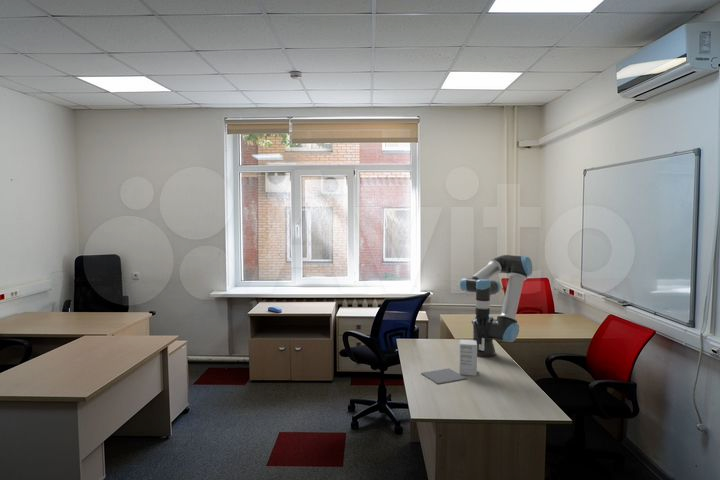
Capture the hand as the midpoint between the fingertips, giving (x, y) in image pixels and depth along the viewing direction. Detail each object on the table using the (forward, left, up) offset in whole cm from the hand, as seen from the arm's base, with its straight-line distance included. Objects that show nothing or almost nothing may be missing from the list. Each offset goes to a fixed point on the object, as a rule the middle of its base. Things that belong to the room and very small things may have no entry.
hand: (481, 349), depth 259 cm
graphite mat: (+25, 0, -12) cm, 27 cm away
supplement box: (+9, 0, -12) cm, 15 cm away
